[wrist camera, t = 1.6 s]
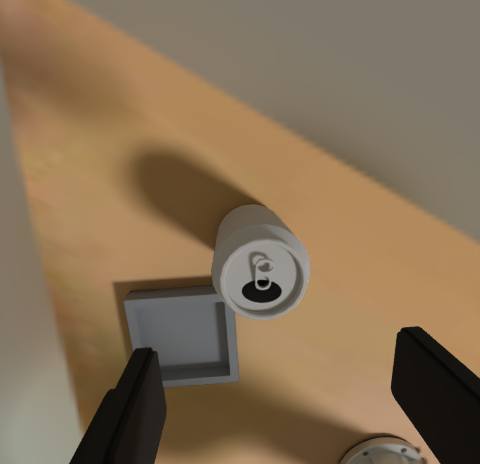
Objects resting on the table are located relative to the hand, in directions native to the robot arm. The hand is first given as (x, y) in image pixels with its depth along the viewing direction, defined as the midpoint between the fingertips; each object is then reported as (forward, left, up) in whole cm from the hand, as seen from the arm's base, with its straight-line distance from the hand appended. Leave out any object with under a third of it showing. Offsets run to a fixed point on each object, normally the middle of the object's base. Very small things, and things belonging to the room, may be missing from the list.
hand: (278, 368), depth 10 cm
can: (-1, 0, -20) cm, 20 cm away
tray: (+8, +12, -20) cm, 25 cm away
